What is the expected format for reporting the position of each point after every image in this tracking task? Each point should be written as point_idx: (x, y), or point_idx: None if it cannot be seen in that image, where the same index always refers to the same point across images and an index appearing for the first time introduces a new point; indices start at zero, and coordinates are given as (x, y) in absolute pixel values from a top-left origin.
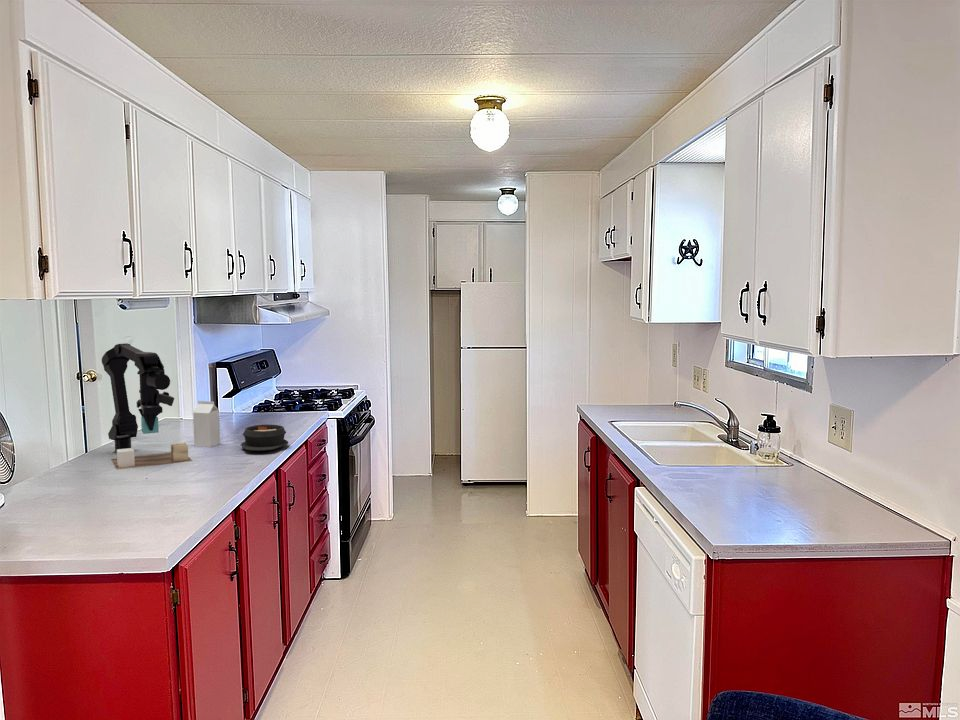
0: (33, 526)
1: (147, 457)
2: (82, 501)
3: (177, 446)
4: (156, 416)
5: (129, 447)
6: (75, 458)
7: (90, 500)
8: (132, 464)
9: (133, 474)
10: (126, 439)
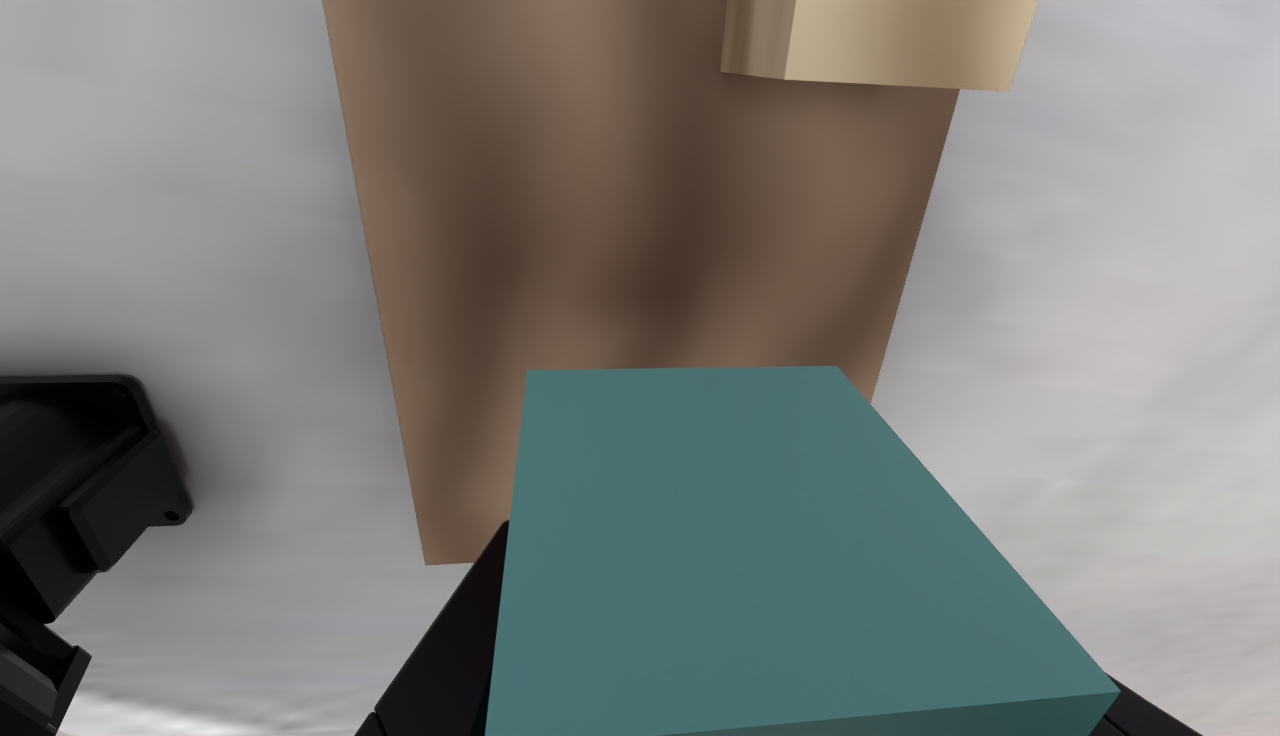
0: None
1: (514, 306)
2: (1235, 646)
3: (1032, 14)
4: (760, 733)
5: (54, 450)
6: (191, 711)
7: (1254, 625)
8: None
9: (944, 442)
10: (20, 557)
